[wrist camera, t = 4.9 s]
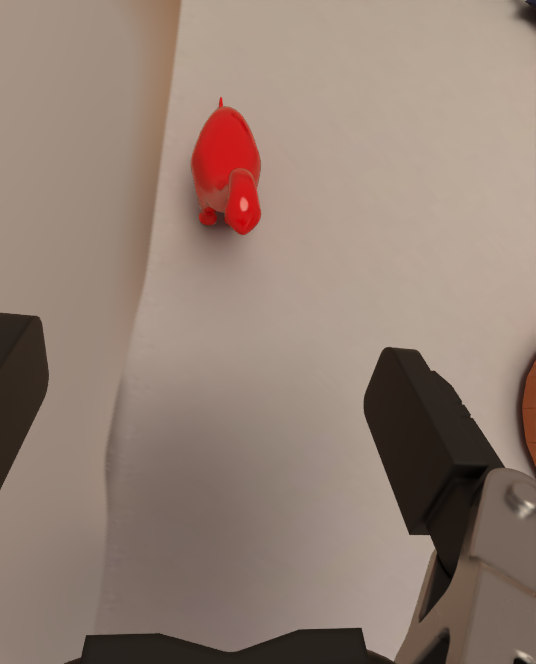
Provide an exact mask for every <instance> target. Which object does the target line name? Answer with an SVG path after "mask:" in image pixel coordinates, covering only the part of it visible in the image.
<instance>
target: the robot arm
mask: <svg viewBox="0 0 536 664" xmlns="http://www.w3.org/2000/svg"><path fill="white" fill-rule="evenodd" d="M48 380H49V371H48V363H47V356H46V349H45V341H44V335H43V327H42V322H41V320H40V318H39V317H38V316H30V315H20V314H9V313H0V489H1V487H2V485H3V483H4V481H5V479H6V477H7V474H8V472H9V470H10V468H11V466H12V464H13V462H14V460H15V458H16V456H17V454H18V452H19V449H20V448H21V446H22V444H23V441H24V439H25V437H26V435H27V433H28V431H29V429H30V427H31V425H32V423H33V421H34V419H35V417H36V414H37V412H38V410H39V408H40V406H41V404H42V402H43V400H44V398H45V395H46V392H47V387H48ZM364 414H365V418H366V421H367V423H368V426H369V429H370V431H371V434H372V437H373V439H374V442H375V444H376V447H377V450H378V452H379V455H380V458H381V460H382V463H383V466H384V468H385V471H386V474H387V476H388V479H389V482H390V484H391V487H392V490H393V492H394V495H395V498H396V500H397V503H398V506H399V508H400V511H401V514H402V516H403V519H404V522H405V524H406V527H407V530H408V532H409V535H430V536H431V539H432V541H433V544H434V546H435V550H434V551H433V553H432V555H431V558H430V561H429V564H428V568H427V571H426V574H425V578H424V581H423V584H422V588H421V591H420V594H419V598H418V601H417V604H416V607H415V611H414V614H413V617H412V621H411V624H410V627H409V630H408V633H407V635H406V637H405V640H404V642H403V644H402V646H401V647H400V649H399V651H398V653H397V655H396V658H395V660H394V662H393V661H391V660H390V659H388V658H386V657H384V656H382V655H380V654H377V653H375V652H373V651H370V650H367V649H366V645H365V641H364V637H363V633H362V628H339V629H302V630H297V631H294V632H291V633H288V634H285V635H282V636H280V637H277V638H274V639H271V640H268V641H266V642H263V643H260V644H257V645H254V646H251V647H249V648H246V649H243V650H240V651H237V652H225V651H221V650H217V649H214V648H210V647H206V646H203V645H199V644H196V643H192V642H189V641H185V640H181V639H178V638H174V637H171V636H167V635H163V634H160V633H155V634H118V635H86V639H85V643H84V647H83V652H82V656H81V658H78V659H75V660H72V661H69V662H67V663H64V664H536V480H535V479H533V478H532V477H530V476H528V475H527V474H524V473H522V472H520V471H517V470H514V469H509V468H505V466H504V465H503V463H502V462H501V460H500V459H499V457H498V456H497V454H496V453H495V451H494V450H493V448H492V447H491V445H490V443H489V442H488V440H487V439H486V437H485V436H484V434H483V433H482V431H481V430H480V428H479V427H478V425H477V424H476V422H475V421H474V419H473V418H471V417H470V415H471V414H470V413H469V411H468V410H467V408H466V407H465V405H462V401H461V399H460V398H459V396H458V395H457V393H456V392H455V390H454V388H453V387H452V385H450V384H449V383H448V382H447V381H446V380H445V379H443V378H442V377H441V376H440V375H439V374H438V373H437V372H435V371H431V370H430V368H429V367H428V365H427V364H426V362H425V360H424V359H423V357H422V356H421V354H420V353H419V351H417V350H414V349H403V348H392V347H386V348H385V349H384V350H383V351H382V352H381V355H380V357H379V360H378V362H377V365H376V367H375V370H374V372H373V375H372V377H371V380H370V382H369V385H368V387H367V390H366V393H365V396H364Z"/></svg>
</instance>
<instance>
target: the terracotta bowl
mask: <svg viewBox="0 0 536 664" xmlns="http://www.w3.org/2000/svg"><path fill="white" fill-rule="evenodd" d="M522 414H523V422H524V430H525V439H526V442H527V443H526V444H527V446H528V449H529V451H530V454H531V456H532V459H533V461H534V464H535V466H536V360H535V362H534V364H533V366H532V368H531V370H530V372H529V374H528V376H527V379H526V385H525V391H524V398H523V404H522Z"/></svg>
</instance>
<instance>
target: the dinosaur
mask: <svg viewBox="0 0 536 664" xmlns="http://www.w3.org/2000/svg"><path fill="white" fill-rule="evenodd" d="M191 170H192V174H193V179H194V184H195V188H196V194H197V200H198V203H199V206H200V208H201V212H200V214H199V220H200V222H201V223H203V224H205V225H213V224H214V223H216V221H217V215H216V211H218V212H222V213H225V217H224V221H225V223H226V224H227V225H229V226H231V227H232V228H233V229H234V230H235V231H236V232H237V233H238V234H240V235H245V234H247V233H249V232H250V231H251V230H252V229H253V228H254V227H255V226H256V225H257V224H258V222H259V220H260V218H261V209H260V205H259V200H258V194H257V186H258V182H259V177H260V171H261V160H260V155H259V152H258V149H257V146H256V143H255V140H254V137H253V134H252V132H251V130H250V128H249V126H248V124H247V122H246V120H245V119H244V117H243V116H242V115H241V114H240V113H239V112H238V111H237V110H235V109H233V108H231V107H227V106H223V102H222V97H220V102H219V108H218V109H216V110H215V111H214V112H213V113H212V114H211V116H210V117H209V118H208V120H207V121H206V123H205V125H204V126H203V128H202V130H201V132H200V134H199V137H198V139H197V142H196V145H195V148H194V151H193V154H192V158H191Z"/></svg>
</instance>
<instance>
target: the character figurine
mask: <svg viewBox="0 0 536 664" xmlns="http://www.w3.org/2000/svg"><path fill="white" fill-rule="evenodd" d="M525 2H526V3H529V4H530V5H532V6H533V7H534V8H535V9H536V0H527V1H525Z"/></svg>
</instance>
